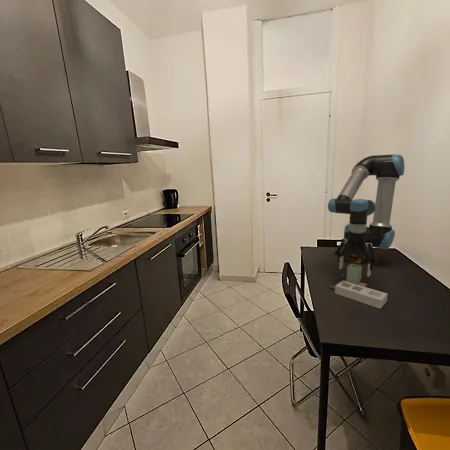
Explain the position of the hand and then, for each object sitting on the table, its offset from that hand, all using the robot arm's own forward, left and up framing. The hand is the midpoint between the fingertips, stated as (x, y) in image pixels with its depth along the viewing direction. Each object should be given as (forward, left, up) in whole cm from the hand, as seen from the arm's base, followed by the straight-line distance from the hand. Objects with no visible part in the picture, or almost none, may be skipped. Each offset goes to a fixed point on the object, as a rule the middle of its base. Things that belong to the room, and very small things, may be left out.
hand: (354, 271), depth 132 cm
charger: (0, 0, -7) cm, 7 cm away
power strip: (+10, +5, -7) cm, 13 cm away
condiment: (-11, -5, -8) cm, 14 cm away
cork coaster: (0, 0, -7) cm, 7 cm away
